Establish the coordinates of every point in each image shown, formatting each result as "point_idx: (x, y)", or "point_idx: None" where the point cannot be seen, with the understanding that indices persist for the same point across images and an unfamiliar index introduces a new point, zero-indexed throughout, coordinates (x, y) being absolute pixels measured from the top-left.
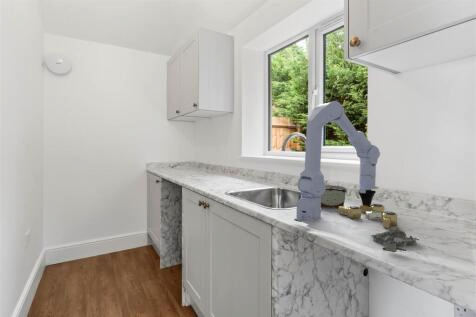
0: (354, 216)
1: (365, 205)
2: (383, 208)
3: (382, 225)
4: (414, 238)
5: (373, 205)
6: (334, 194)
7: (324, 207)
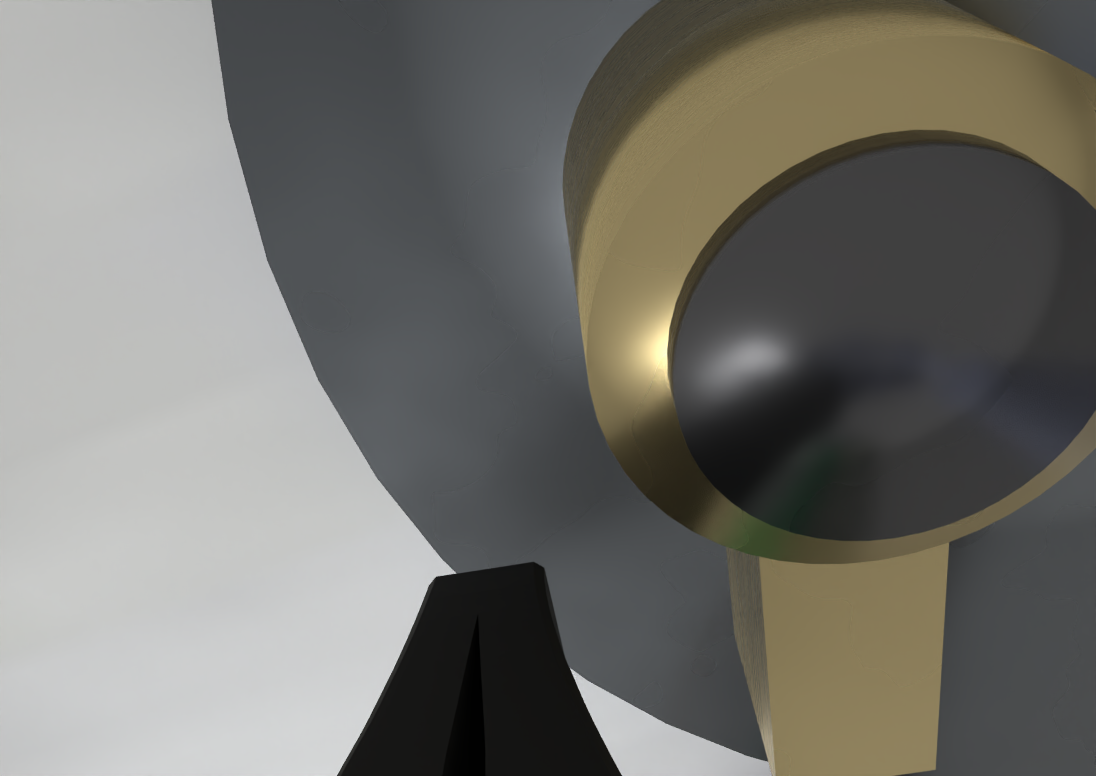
0: None
1: (805, 681)
2: (967, 23)
3: None
4: None
5: (1000, 463)
6: None
7: None
